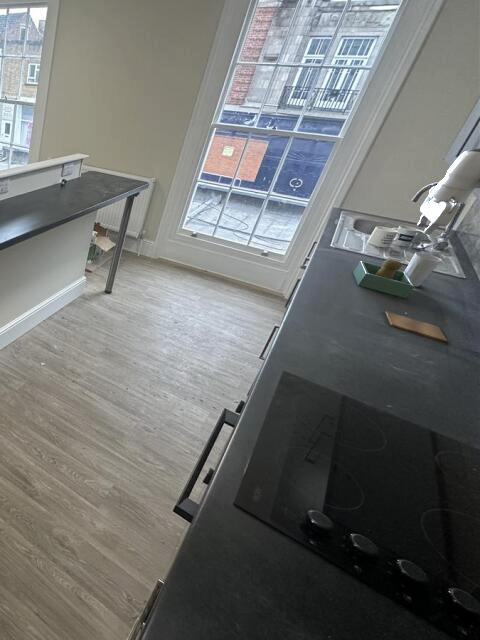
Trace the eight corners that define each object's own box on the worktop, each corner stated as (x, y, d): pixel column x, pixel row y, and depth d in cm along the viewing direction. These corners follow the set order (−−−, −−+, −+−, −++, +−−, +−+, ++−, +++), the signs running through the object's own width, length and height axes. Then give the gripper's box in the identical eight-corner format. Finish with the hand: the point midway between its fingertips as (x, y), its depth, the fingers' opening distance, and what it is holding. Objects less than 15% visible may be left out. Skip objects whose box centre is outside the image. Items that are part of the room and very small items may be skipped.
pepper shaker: (367, 283, 163) (384, 259, 157) (369, 279, 166) (385, 255, 161) (387, 289, 159) (405, 265, 153) (388, 285, 163) (405, 261, 157)
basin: (397, 283, 165) (405, 272, 162) (405, 298, 154) (414, 286, 151) (353, 272, 171) (360, 260, 169) (358, 285, 161) (366, 273, 158)
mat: (437, 328, 137) (438, 326, 137) (446, 342, 130) (447, 340, 130) (384, 312, 143) (386, 311, 143) (390, 325, 136) (391, 324, 136)
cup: (404, 285, 164) (424, 259, 158) (391, 276, 171) (410, 251, 165) (426, 288, 163) (447, 263, 157) (413, 279, 170) (432, 254, 163)
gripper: (471, 204, 134) (442, 241, 142) (452, 190, 149) (426, 225, 156) (446, 199, 137) (418, 235, 144) (430, 186, 152) (405, 220, 159)
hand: (422, 230), depth 151 cm, fingers open, 8 cm apart
